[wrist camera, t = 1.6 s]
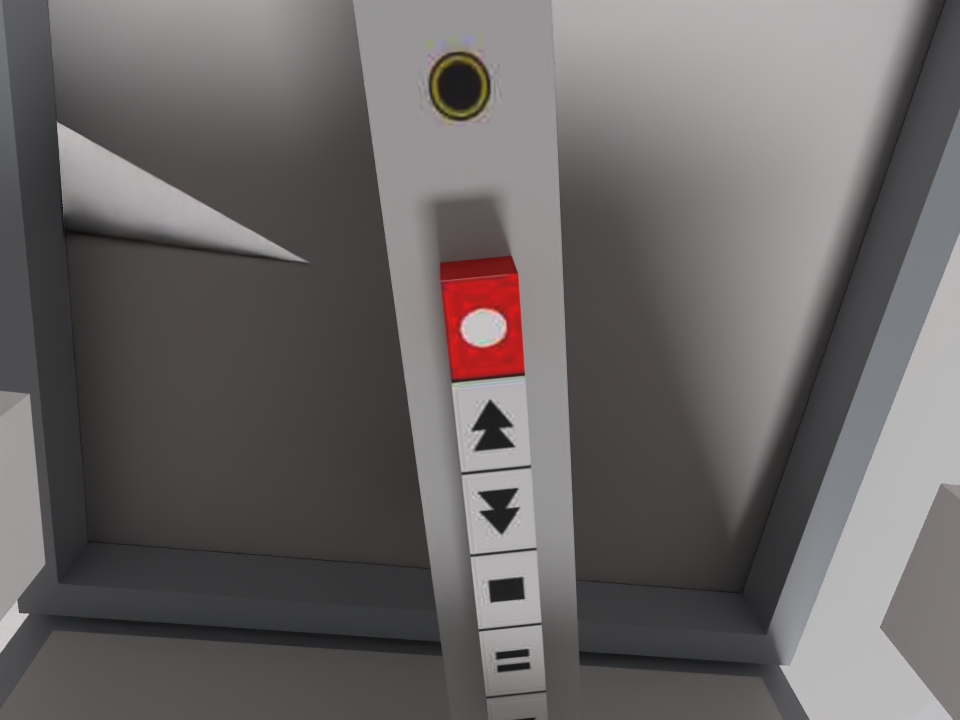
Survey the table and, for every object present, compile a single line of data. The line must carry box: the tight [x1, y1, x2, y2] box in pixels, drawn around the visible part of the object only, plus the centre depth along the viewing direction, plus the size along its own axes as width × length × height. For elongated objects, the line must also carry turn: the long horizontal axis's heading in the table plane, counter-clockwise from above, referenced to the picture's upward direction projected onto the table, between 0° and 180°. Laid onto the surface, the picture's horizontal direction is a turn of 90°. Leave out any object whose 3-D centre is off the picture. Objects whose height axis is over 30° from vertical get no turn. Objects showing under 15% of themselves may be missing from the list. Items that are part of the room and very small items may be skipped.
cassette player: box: [353, 0, 582, 720], centre depth 16 cm, size 16×3×10 cm, turn 5°
